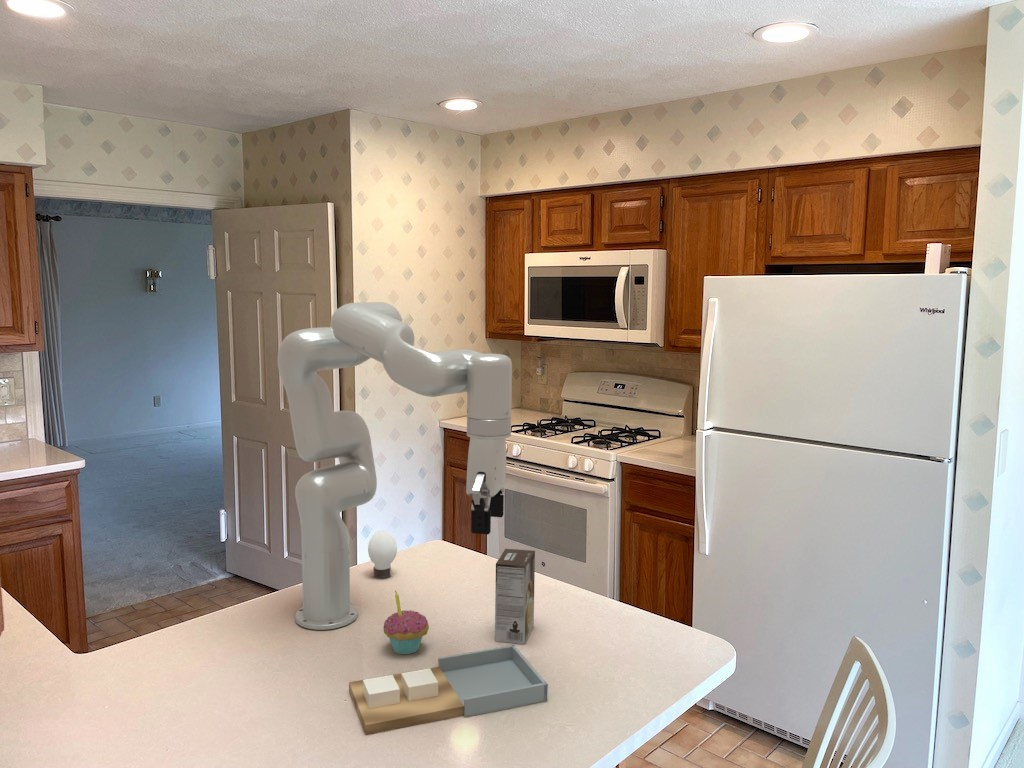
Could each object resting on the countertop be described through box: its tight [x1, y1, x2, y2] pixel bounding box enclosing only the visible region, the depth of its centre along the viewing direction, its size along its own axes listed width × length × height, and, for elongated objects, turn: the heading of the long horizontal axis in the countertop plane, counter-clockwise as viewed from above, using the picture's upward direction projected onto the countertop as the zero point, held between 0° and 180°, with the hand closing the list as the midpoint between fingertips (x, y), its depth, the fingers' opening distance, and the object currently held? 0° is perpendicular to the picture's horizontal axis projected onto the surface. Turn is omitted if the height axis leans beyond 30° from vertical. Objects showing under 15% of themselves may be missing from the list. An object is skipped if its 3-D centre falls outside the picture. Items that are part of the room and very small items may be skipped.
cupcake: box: [383, 590, 430, 655], centre depth 151 cm, size 9×8×12 cm
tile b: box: [400, 667, 438, 701], centre depth 133 cm, size 5×5×2 cm
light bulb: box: [367, 530, 398, 580], centre depth 187 cm, size 7×7×11 cm
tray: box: [437, 644, 549, 718], centre depth 138 cm, size 15×15×3 cm
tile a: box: [362, 674, 400, 709], centre depth 130 cm, size 5×5×2 cm
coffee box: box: [494, 548, 536, 645], centre depth 158 cm, size 9×6×16 cm
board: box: [348, 666, 464, 736], centre depth 132 cm, size 14×16×2 cm
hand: (487, 524), depth 137 cm, fingers open, 9 cm apart
